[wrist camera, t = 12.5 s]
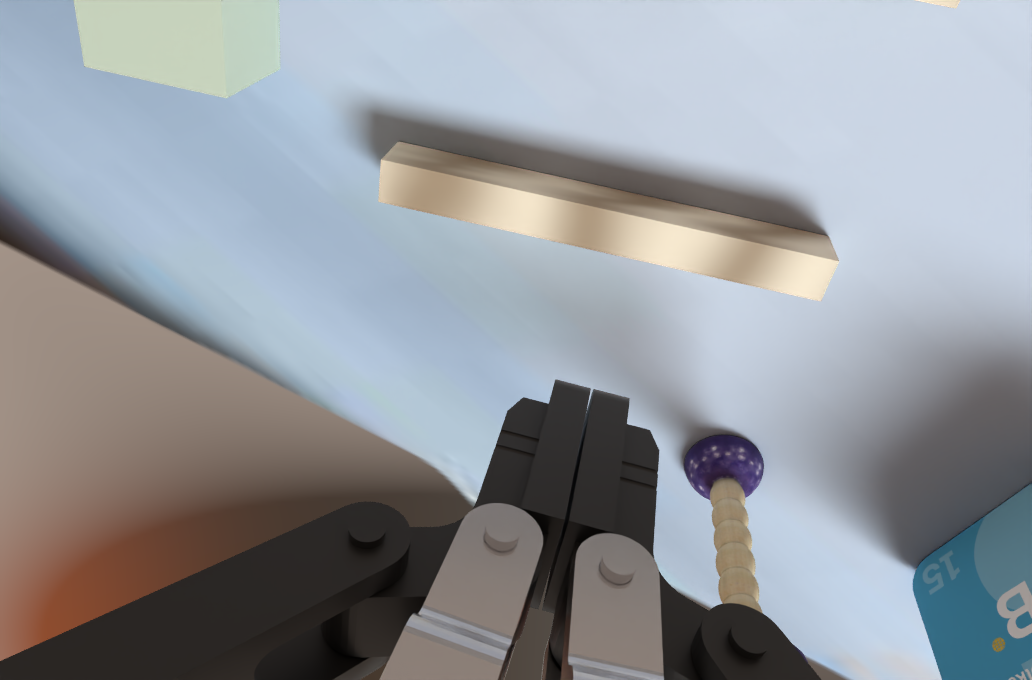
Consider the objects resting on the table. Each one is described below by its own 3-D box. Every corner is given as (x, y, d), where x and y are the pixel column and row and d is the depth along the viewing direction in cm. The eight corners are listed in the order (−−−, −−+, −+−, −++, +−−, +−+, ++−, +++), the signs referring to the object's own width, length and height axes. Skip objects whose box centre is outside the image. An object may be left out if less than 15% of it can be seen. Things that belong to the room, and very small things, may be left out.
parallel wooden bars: (961, -63, 27) (986, -56, 24) (811, 274, 34) (820, 301, 32) (420, -170, 28) (400, -172, 26) (395, 181, 36) (378, 201, 33)
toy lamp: (700, 418, 40) (717, 714, 26) (786, 439, 40) (848, 749, 26) (675, 481, 43) (677, 779, 29) (755, 501, 42) (796, 811, 29)
